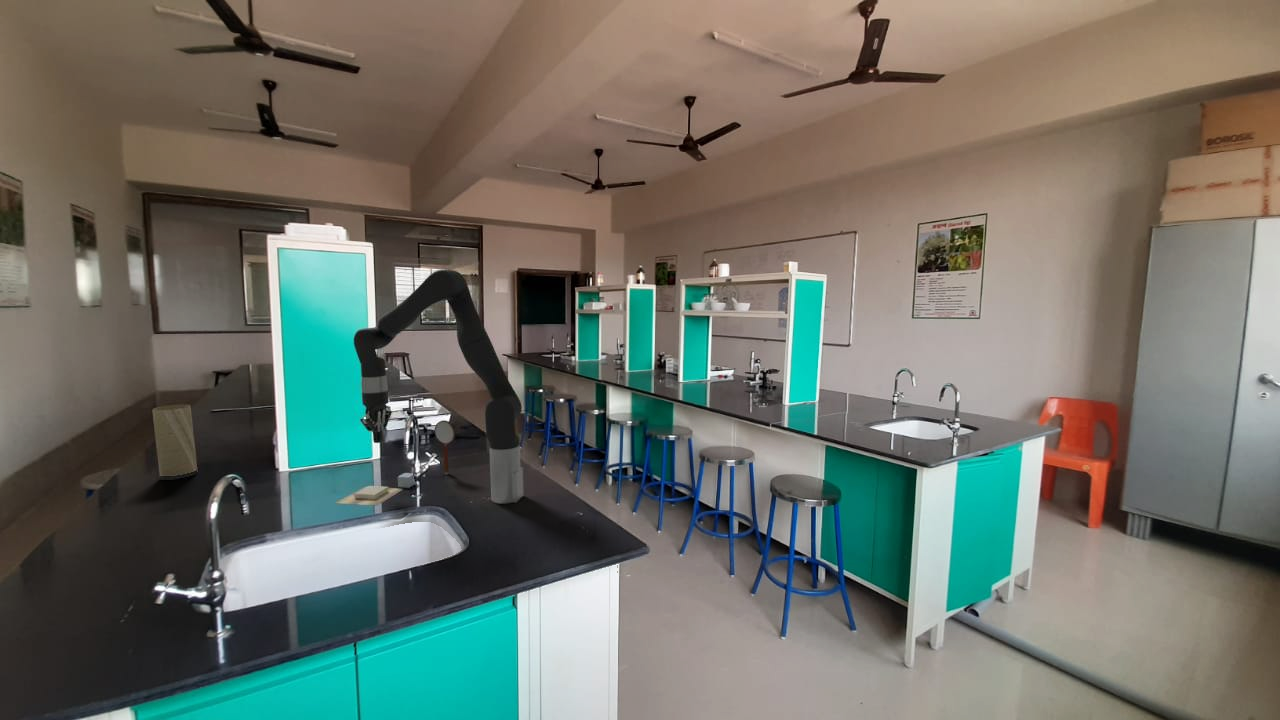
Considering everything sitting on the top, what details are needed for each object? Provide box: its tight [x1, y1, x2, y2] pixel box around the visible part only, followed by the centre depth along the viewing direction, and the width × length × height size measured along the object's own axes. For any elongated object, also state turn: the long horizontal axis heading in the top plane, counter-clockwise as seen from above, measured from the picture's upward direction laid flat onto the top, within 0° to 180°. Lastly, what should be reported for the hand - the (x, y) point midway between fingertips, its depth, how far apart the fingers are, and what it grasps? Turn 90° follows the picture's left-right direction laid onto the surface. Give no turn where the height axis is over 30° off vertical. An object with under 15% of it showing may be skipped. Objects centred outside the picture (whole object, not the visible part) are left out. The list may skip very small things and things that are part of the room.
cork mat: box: [335, 486, 404, 507], centre depth 165 cm, size 14×14×1 cm
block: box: [397, 472, 416, 489], centre depth 175 cm, size 4×4×4 cm
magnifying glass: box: [434, 419, 457, 475], centre depth 185 cm, size 9×2×20 cm, turn 71°
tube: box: [151, 404, 198, 477], centre depth 183 cm, size 10×10×25 cm
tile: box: [353, 485, 390, 500], centre depth 166 cm, size 7×2×7 cm
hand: (378, 442), depth 168 cm, fingers closed
